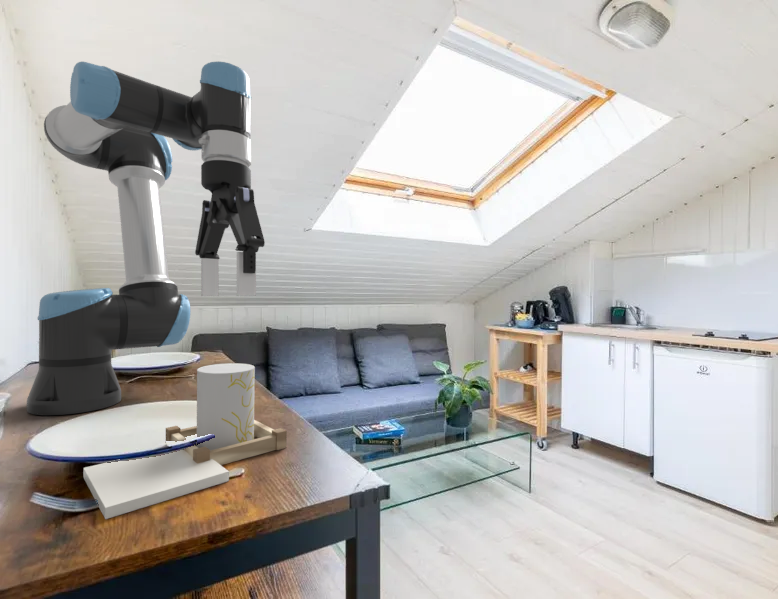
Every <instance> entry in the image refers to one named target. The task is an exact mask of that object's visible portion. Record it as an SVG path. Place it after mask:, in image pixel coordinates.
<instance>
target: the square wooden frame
mask: <svg viewBox="0 0 778 599" xmlns="http://www.w3.org/2000/svg"><path fill="white" fill-rule="evenodd" d="M287 433H288V431H287V430H286V429H284V428H281V427H280V428H276V429H274V428H272V427H270V426H268V425H266V424H263V423H261V422H260V421H258V420H255V419H254V440H250V441H246V442H242V443H238V444H234V445H230V446H226V447H222V448H218V449H214V450H209V449H208V448H207V447H201V448H198V447H197V445H195V444H194V446H191V447H188V448H186V449H184V450H185V451H186V452H187V453H188V454H189V455H191V456H192V457H193V460H194V461H195V462H196V463H197V464H198V463H202V462H205V461H209V460H210V459H213V460H215V461H216V462H217V463H219V464H220V465H221V466H223V465H226V464H230V463H234V462H238V461H241V460H244V459H247V458H252V457H255V456H258V455H262V454H265V453H266V454H267V453H269V452H272V451H280V450H284V449H286V448H287V435H288V434H287ZM195 434H197V425H195V426H189V427H186V428H181V427H179V426H178V425H173V426H168V427H165V442H166V441H175V442H177V441H184V440H186V438H185V437H187V436H191V435H195Z"/></svg>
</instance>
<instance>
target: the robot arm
mask: <svg viewBox="0 0 778 599" xmlns="http://www.w3.org/2000/svg"><path fill="white" fill-rule="evenodd" d="M250 80H251V79H250V77H249V75H248V73H247V72H246V71H245V70H244V69H242V68H241V67H240V66H237V65H234V64H232V63H230V62H225V61H211V62H207V63H206V64H204V65H203V66H202V68H201V74H200V80H199V83H200V90H199V91H198V92H197V93H196V94H194V95H193V96H189V95H186V94H183V93H180V92H177V91H174V90H172V89H168V88H165V87H162V86H160V85H157V84H154V83H151V82H147V81H145V80H142V79H140V78H137V77H134V76H131V75H128V74H125V73H122V72H119V71H116V70H113V69H111V68H109V67H107V66H105V65H98V64H94V63H92V62H91V63H90V62H88V61H78V62H77V63H76V64H75V65H74V66H73V70H72V72H71V78H70V86H69V89H70V90H69V91H70V92H69V93H70V94H69V96H70V97H69V98H70V101H69V102H68V103H67V104H66V105H60V106H56V107H55V108H53V109H51V111H49V113H47V114H46V117H45V118H44V122H43V131H44V135H45V137H46V139H47V141H48V142H49V144H50V145H51V146H52V147H53V148H54V150H56V151H57V152H58V153H60V155H63V157H65V158H67V159H68V160H70V161H73V162H74V163H76V164H79V165H82V166H84V167H87V168H93V169H95V170H96V169H97V170H103V171H106V172H108V179H109V181H110V183H111V184H113V185H114V186H115V187H116V188H117V194H118V198H117V199H118V206H119V217H120V218H119V220H120V231H121V240H122V249H123V250H122V251H123V262H124V275H125V282H124V283H123V284H122V285H120V287H119V288H118V294H113V293H114V292H113V291H112V289H111V287H99V288H86V289H83V288H82V289H74V290H66V291H64V290H63V291H58V292H50V293H47V294H44V295H43V296H42V297H41V299H39V307H38V308H39V309H38V316H37V320H38V325H39V326H38V371H37V374H36V375H35V376H36V377H34V378H35V379H34V380H33V383H32V386H31V389H30V391H29V393H28V396H27V399H26V412H27V413H29V414H32V415H37V416H38V415H39V416H59V415H60V416H62V415H63V416H64V415H72V414H81V413H82V414H83V413H87V412H88V413H89V412H93V411H96V410H98V411H99V410H101V409H106V408H109V407H112V406H115V405H116V404H118V403H120V402H121V400H122V389H121V386H120V382H119V380H118V378H117V375H116V373H115V370H114V368H113V365H112V351H115V350H128V349H137V348H138V349H140V348H151V347H157V348H160V347H161V348H162V347H166V346H172V345H177V344H178V343H180V342H181V341H183V339H184V338H185V336H186V334H187V332H188V328H189V326H190V321H191V303H190V302H191V301H190V299H189V298H188V296H186V295H185V294H182V293H180V294H179V290H178V288H179V287H178V284H177V283H176V282H174V281H172V280H171V279H170V274H169V266H168V260H167V259H168V256H167V255H168V254H167V249H166V246H167V245H166V239H165V230H164V222H163V221H164V220H163V213H162V205H161V196H160V195H161V194H160V188H162V187H163V186H164V185H165V182H166V181H167V180H169V178H170V176H171V174H172V171H173V170H172V169H173V165H172V163H173V155H172V149H171V146H170V144H169V141H168V139H167V138H169V139H172V140H173V142H174V143H176V144H177V145H178V146H180V147H181V148H183V149H185V150H188V151H200V150H201V161H202V162H203V163H202V164H201V166H200V168H201V169H200V170H201V172H200V174H201V175H200V176H201V181H200V184H201V186H202V188H204V189H205V190H207V191H209V192H210V193H211V199H210V200H204V199H203V200H202V206H201V207H202V209H201V217H200V224H199V230H198V234H197V238H196V239H197V240H196V245H195V252H194V254H195V255H196V256H199V259H200V286H201V287H200V294H201V295H200V296H201V297H219V290H220V289H219V279H220V278H219V276H220V275H219V274H220V273H219V272H220V270H219V260H220V259H221V258H220V256H219V255H218V252H219V249H220V246H221V244H222V241H223V237H224V234H225V231H226V229H228V228H230V229H231V231H232V234H233V236H234V239H235V240H236V243H237V245H236V247H235V249H234V250H235V251H236V296H238V297H239V296H240V297H241V296H244V297H247V296H249V297H253V296H254V297H256V296H257V253H258V252H259V248H263V247H265V244H266V243H265V237H264V234H263V231H262V230H263V229H262V227H261V224H260V223H261V222H260V219H259V215H258V211H257V208H256V204H255V192H254V189H253V188H252V170H251V169H250V168H249V167H250V166H252V141H251V133H252V129H251V126H252V124H251V123H252V118H251V117H252V96H251V83H250Z"/></svg>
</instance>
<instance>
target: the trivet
mask: <svg viewBox="0 0 778 599" xmlns="http://www.w3.org/2000/svg"><path fill="white" fill-rule="evenodd" d="M110 462H111V461H110ZM82 468H83V472H82V473H83V480H84V481H85V484H86V485H87V487H88V489H89V490H90V493H91V495H92V496H93V500H95V499H97V500H98V504H99V506H98V508H99V510H100V512H101V513H102V515H103V517H104V519H105V520H108V519H110V518H114V517H118V516H120V515H124V514H127V513H129V512H133V511H136V510H140V509H143V508H146V507H150V506H152V505H156V504H159V503H162V502H165V501H168V500H169V501H170V500H172V499H175V498H179V497H182V496H184V495H188V494H191V493H195V492H198V491H201V490H204V489H207V488H210V487H214V486H216V485H221V484H224V483H227V482H229V481H230V471H229V470H228V469H227V468H225V467H224V466H223V465H220V464H219V463H217V462H216V461H215V460H213V459H210V460H209V461H205V462H202V463H198V464H197V463H196V462H195V461H194V460H193V457H192V456H191V455H189V454H188V453H187V452H186V451H185V450H180V451H177V452H173V453H169V454H165V455H161V456H156V457H149V458H142V459H136V460H129V461H118V462H111V463H107V462H104V463H98V464H94V465H90V466H85V467H82ZM98 504H97V505H98Z"/></svg>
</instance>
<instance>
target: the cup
mask: <svg viewBox="0 0 778 599" xmlns="http://www.w3.org/2000/svg"><path fill="white" fill-rule="evenodd" d="M196 373H197V374H196V426H197V437H200V436H205V435H208V434H214V435H215V438H212V439H210V440H209V441H205V442H203V443H200V444H198V445H197V444H196V447H198V448H201V447H207V448H208V449H209V450H214V449H218V448H222V447H226V446H230V445H234V444H238V443H242V442H246V441H250V440H254V439H255V436H254V420H255V384H256V383H255V375H256V367H255V366H254V364H253V365H252V364H249V363H237V362H236V363H231V362H229V363H217V364H216V363H215V364H209V365H204V366H201V367H199V368H196Z"/></svg>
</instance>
